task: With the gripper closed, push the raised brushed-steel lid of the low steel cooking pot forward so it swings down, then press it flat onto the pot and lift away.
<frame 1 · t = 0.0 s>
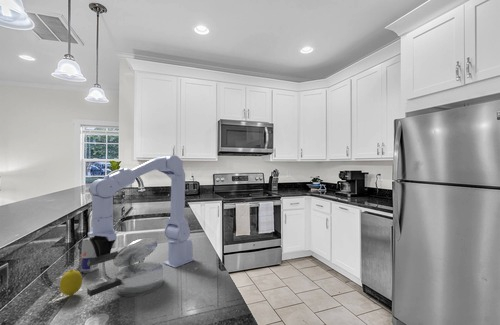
hand: (102, 259, 76), 10 cm above the countertop, tool pointing down, fingers closed
energy drink: (89, 270, 92), on the countertop
lemon: (71, 296, 73), on the countertop
pot: (140, 285, 79), on the countertop
lid: (125, 253, 79), point 11 cm above the countertop, hinge at 46.1°, touching gripper
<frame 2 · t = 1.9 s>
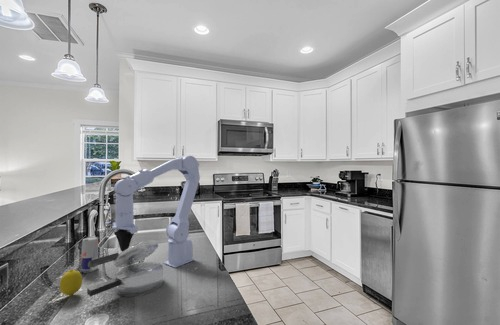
hand: (124, 250, 86), 9 cm above the countertop, tool pointing down, fingers closed
lid: (125, 255, 78), point 10 cm above the countertop, hinge at 41.6°
everything else where it was.
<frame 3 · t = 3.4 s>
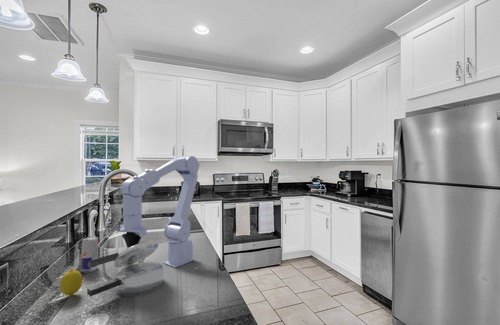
hand: (132, 253, 83), 9 cm above the countertop, tool pointing down, fingers closed, pressing on lid
lid: (125, 255, 78), point 10 cm above the countertop, hinge at 41.5°, touching gripper
everything else where it was.
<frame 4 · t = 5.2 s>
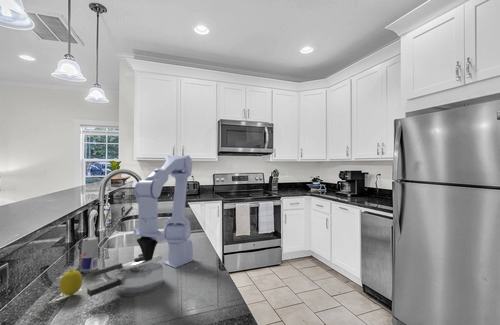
hand: (148, 260, 77), 9 cm above the countertop, tool pointing down, fingers closed
lid: (128, 264, 77), point 8 cm above the countertop, hinge at 15.3°, touching gripper
everything else where it was.
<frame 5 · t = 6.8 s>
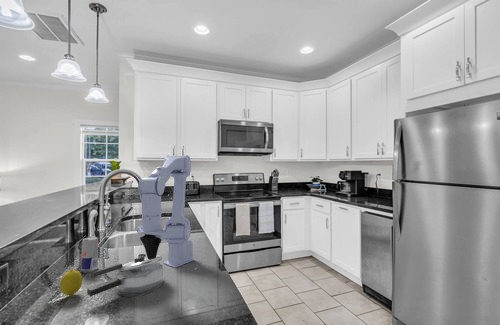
hand: (151, 258, 76), 10 cm above the countertop, tool pointing down, fingers closed
lid: (129, 264, 77), point 8 cm above the countertop, hinge at 14.2°
everything else where it was.
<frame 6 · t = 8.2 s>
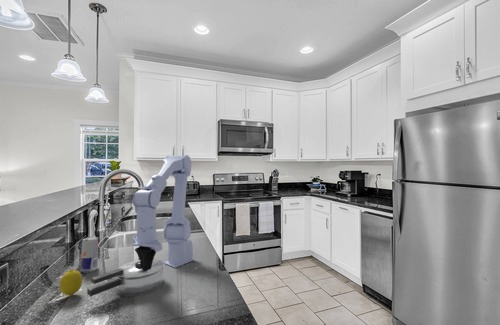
hand: (146, 269, 77), 6 cm above the countertop, tool pointing down, fingers closed, pressing on lid
lid: (129, 269, 77), point 6 cm above the countertop, hinge at 1.3°, touching gripper
everything else where it was.
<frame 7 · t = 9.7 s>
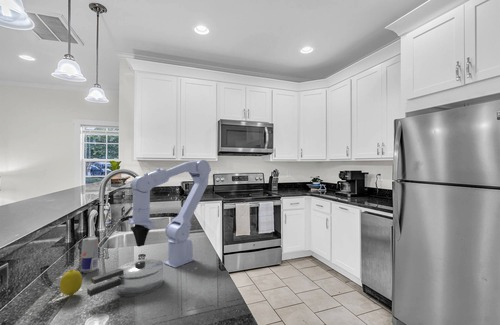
hand: (140, 245, 88), 10 cm above the countertop, tool pointing down, fingers closed
lid: (129, 269, 77), point 6 cm above the countertop, hinge at 1.3°
everything else where it was.
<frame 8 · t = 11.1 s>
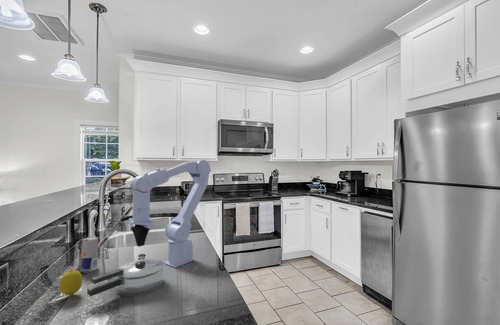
hand: (140, 245, 88), 10 cm above the countertop, tool pointing down, fingers closed
nothing on the countertop moved.
at the end: lid at +1° (first picture: +46°); lemon moved 0.2 cm from its start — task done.
